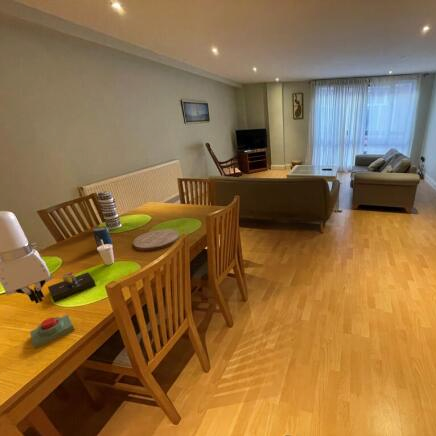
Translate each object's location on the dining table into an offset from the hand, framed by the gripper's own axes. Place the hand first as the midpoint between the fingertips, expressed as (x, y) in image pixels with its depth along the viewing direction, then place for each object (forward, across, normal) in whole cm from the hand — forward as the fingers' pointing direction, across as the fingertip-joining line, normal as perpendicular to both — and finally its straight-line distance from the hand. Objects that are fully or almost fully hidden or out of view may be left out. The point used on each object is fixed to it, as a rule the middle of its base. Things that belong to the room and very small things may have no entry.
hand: (38, 300), depth 79 cm
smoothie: (+15, -26, -37) cm, 48 cm away
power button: (+11, 0, 0) cm, 11 cm away
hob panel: (+14, -10, -25) cm, 30 cm away
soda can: (+15, -30, -59) cm, 68 cm away
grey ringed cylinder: (+15, -44, -89) cm, 100 cm away
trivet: (+15, -54, -44) cm, 71 cm away
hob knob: (+11, -10, -25) cm, 29 cm away
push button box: (+14, 0, 0) cm, 14 cm away
